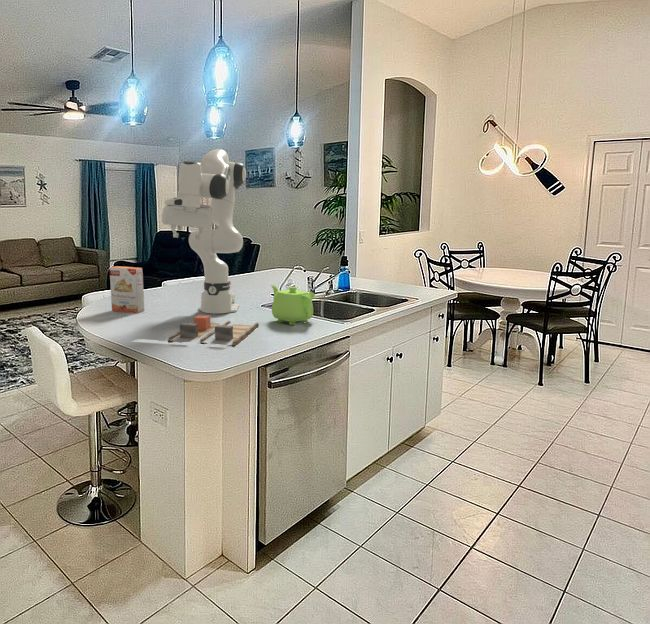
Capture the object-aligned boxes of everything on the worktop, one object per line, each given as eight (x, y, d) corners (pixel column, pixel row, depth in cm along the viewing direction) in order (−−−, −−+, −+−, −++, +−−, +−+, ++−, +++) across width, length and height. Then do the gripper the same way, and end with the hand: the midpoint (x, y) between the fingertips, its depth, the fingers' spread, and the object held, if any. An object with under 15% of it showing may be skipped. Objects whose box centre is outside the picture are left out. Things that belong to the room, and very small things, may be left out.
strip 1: (202, 325, 233) (201, 311, 232) (220, 326, 232) (219, 312, 231) (177, 340, 208) (176, 324, 207) (197, 342, 207) (196, 326, 206)
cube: (198, 326, 226) (198, 315, 225) (210, 327, 225) (210, 315, 224) (194, 329, 221) (193, 317, 220) (206, 330, 220) (205, 318, 219)
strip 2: (233, 327, 231) (233, 312, 230) (252, 328, 230) (251, 313, 229) (212, 342, 206) (211, 327, 205) (232, 344, 205) (232, 328, 204)
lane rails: (200, 323, 237) (200, 319, 236) (258, 327, 233) (258, 322, 233) (168, 342, 206) (168, 337, 205) (235, 347, 202) (235, 341, 202)
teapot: (330, 321, 247) (331, 286, 244) (297, 328, 232) (297, 292, 228) (291, 312, 264) (292, 280, 260) (257, 319, 248) (257, 284, 245)
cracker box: (111, 311, 257) (108, 267, 253) (118, 308, 263) (116, 265, 258) (137, 313, 254) (135, 268, 249) (144, 311, 259) (142, 267, 255)
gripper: (209, 206, 223) (207, 240, 225) (161, 200, 210) (159, 236, 212) (216, 206, 218) (214, 240, 220) (167, 199, 205) (165, 236, 207)
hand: (186, 238), depth 216 cm, fingers open, 8 cm apart
